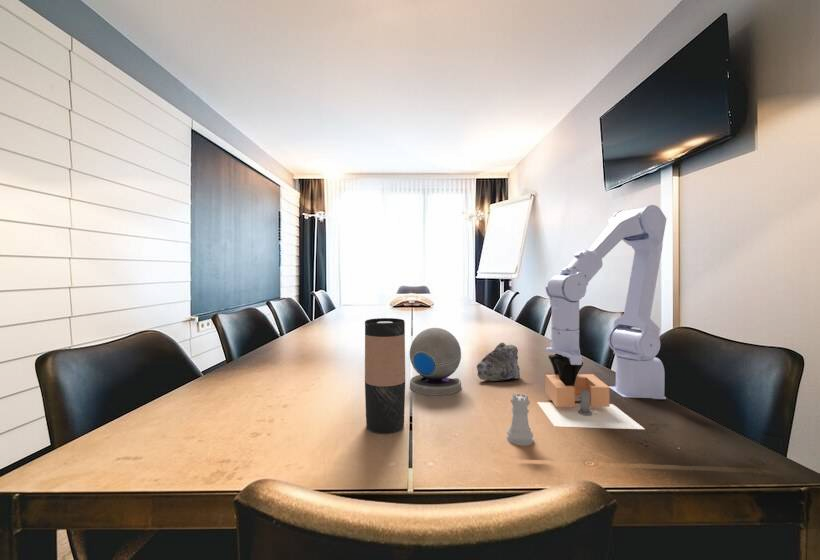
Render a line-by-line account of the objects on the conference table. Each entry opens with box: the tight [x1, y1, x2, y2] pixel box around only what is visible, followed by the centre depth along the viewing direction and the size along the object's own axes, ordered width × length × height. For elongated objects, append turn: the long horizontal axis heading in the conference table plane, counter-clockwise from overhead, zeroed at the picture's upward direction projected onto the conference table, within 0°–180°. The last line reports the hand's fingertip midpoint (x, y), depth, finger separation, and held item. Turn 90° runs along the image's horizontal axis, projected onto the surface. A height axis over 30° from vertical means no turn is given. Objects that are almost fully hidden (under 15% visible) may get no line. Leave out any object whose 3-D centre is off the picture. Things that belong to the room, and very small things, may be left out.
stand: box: [536, 390, 645, 430], centre depth 75 cm, size 16×13×5 cm
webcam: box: [409, 327, 462, 396], centre depth 95 cm, size 13×13×15 cm
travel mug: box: [364, 317, 406, 435], centre depth 71 cm, size 8×8×20 cm
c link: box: [544, 373, 610, 407], centre depth 81 cm, size 8×10×4 cm
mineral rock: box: [476, 342, 521, 382], centre depth 102 cm, size 13×11×10 cm
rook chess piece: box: [506, 393, 534, 446], centre depth 64 cm, size 4×4×8 cm
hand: (564, 389), depth 84 cm, fingers closed on c link, 2 cm apart
